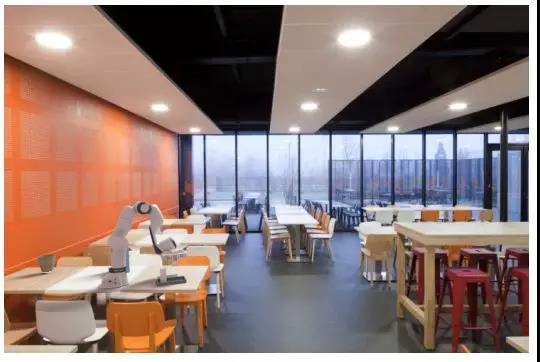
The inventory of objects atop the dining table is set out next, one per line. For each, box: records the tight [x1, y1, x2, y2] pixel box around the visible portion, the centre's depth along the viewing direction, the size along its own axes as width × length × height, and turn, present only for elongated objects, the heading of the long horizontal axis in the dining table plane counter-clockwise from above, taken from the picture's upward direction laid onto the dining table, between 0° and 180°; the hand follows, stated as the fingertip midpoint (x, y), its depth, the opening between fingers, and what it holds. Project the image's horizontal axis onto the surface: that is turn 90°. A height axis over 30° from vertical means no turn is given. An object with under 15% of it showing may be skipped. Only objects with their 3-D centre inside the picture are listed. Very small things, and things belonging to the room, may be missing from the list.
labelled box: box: [171, 249, 179, 267], centre depth 313 cm, size 4×5×12 cm
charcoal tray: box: [155, 275, 187, 287], centre depth 307 cm, size 22×14×2 cm, turn 110°
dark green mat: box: [157, 274, 179, 279], centre depth 323 cm, size 16×14×1 cm
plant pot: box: [37, 253, 57, 273], centre depth 357 cm, size 15×15×16 cm
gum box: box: [110, 246, 131, 273], centre depth 352 cm, size 19×5×23 cm, turn 56°
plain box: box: [159, 266, 167, 283], centre depth 305 cm, size 4×4×12 cm
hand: (174, 257), depth 312 cm, fingers closed on labelled box, 4 cm apart
